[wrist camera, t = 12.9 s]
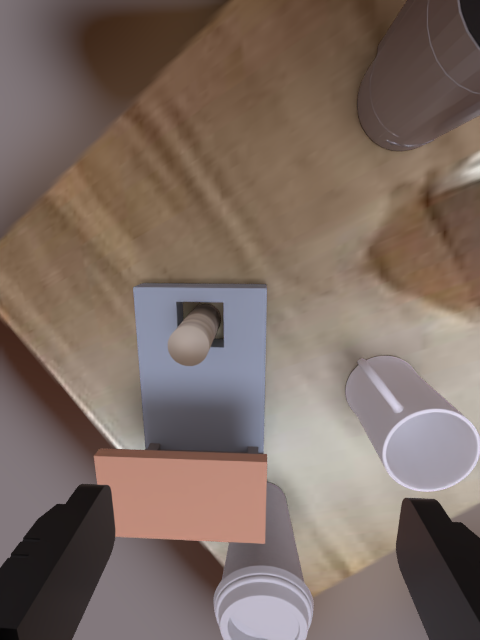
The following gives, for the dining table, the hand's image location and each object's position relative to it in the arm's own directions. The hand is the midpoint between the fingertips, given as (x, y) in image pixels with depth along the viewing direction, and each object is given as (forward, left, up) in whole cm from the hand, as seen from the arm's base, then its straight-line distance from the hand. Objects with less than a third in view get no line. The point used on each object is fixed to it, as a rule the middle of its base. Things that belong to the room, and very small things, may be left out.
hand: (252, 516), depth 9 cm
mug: (+9, +14, -30) cm, 35 cm away
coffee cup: (+27, +1, -30) cm, 41 cm away
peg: (+2, -6, -30) cm, 31 cm away
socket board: (+8, -6, -30) cm, 32 cm away
